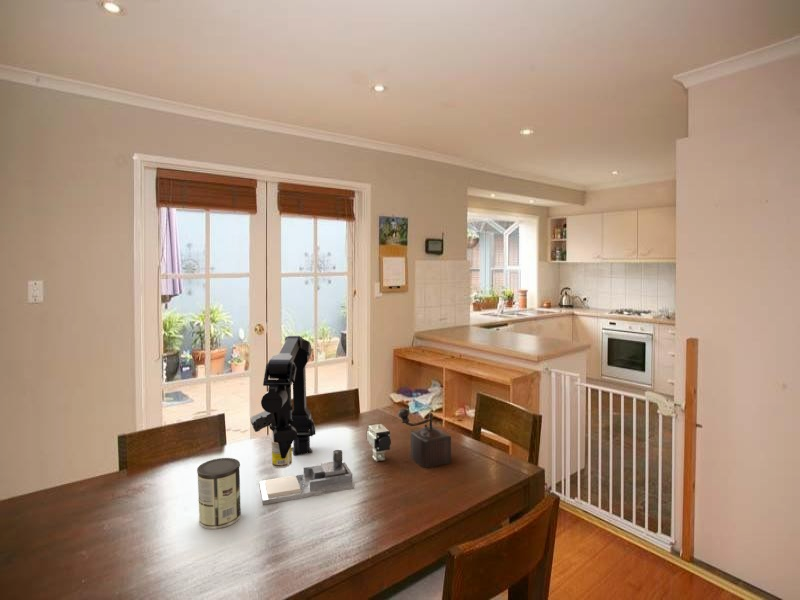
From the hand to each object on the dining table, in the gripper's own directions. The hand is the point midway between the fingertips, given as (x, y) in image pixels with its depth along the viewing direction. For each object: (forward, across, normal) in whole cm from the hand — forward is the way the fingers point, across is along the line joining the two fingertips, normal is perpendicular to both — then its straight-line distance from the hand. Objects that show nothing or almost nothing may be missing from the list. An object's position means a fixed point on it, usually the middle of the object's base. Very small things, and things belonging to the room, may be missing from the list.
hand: (282, 454), depth 133 cm
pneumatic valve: (+11, -11, +33) cm, 36 cm away
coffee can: (+11, +9, -17) cm, 22 cm away
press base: (+11, 0, +7) cm, 13 cm away
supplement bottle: (+3, 0, 0) cm, 3 cm away
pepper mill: (+11, -4, +47) cm, 48 cm away
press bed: (+10, 0, 0) cm, 10 cm away
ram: (+9, 0, +13) cm, 16 cm away
